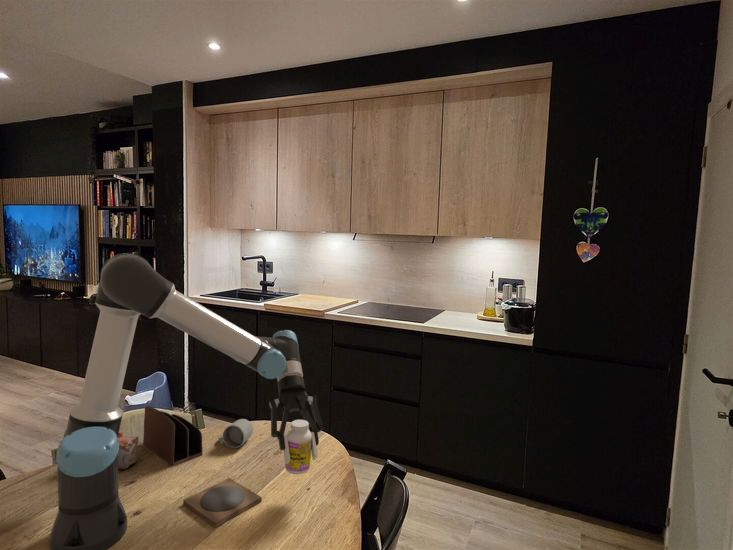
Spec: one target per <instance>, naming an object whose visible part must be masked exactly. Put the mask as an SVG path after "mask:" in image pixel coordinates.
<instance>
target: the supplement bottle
mask: <svg viewBox="0 0 733 550" xmlns="http://www.w3.org/2000/svg"><path fill="white" fill-rule="evenodd" d="M290 428H291V429H290V430H289V431H288V432H287V434H286V435H287V438H288V446H289V454H290V461H289V463H288V464H285V463H284V465H285V466H284V467H285V471H286V472H288V473H289V474H292V475H304V474H305V473H307V472H308V471H310V467H311V458H312V452H311V439H312V435H311V432H310V430H309V423H308V422H307V421H305V420H304V419H294V420H293V421H291V423H290Z"/></svg>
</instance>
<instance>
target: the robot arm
mask: <svg viewBox="0 0 733 550" xmlns="http://www.w3.org/2000/svg"><path fill="white" fill-rule="evenodd" d="M94 304H95V306H96V307H97V308H98V309H99V316H98V320H97V324H96V329H95V333H94V338H93V342H92V347H91V351H90V356H89V361H88V365H87V368H86V371H85V372H86V373H85V378H84V381H83V382H84V383H83V386H82V391H81V394H80V400H79V404H77V405H76V406H74V407H72V408H71V409H70V412H69V417H68V421H67V425H66V429H65V431H64V434H63V438H62V439H61V440H60V442H59V444H58V447H57V452H56V457H55V462H56V465H57V504H58V505H57V506H58V508H57V509H58V511H57V514H56V517H55V520H54V521H53V522H54V523H53V526H52V528H51V531H50V534H49V543H48V544H49V550H107V549H109V548H110V547H112V546H113V545H115V544H116V543H118V542H119V541H120V540H121V539H122V537H123V536H124V535H125V533H126V532H127V531H128V530H127V529H128V515H127V512H126V510H125V508H124V506H123V503H122V500H121V498H120V496H119V469H118V451H119V442H118V433H120V429H121V424H122V419H123V414H124V413H123V410H122V409H121V408H120V406H119V403H120V398H121V396H122V395H121V394H122V390H123V386H124V381H125V376H126V372H127V368H128V363H129V358H130V354H131V350H132V345H133V342H134V337H135V332H136V328H137V323H138V319H139V316H141V315H142V316H144V317H146V318H148V319H155V318H158V319H160V320H161V321H164V322H165V323H166V324H169V325H171V326H173V327H175V328H176V329H177V330H180V331H182V332H183V333H185V334H187V335H189V336H191V337H193V338H195V339H197V340H198V341H200V342H202V343H204V344H206V345H208V346H210V347H212V348H214V349H215V350H217V351H219V352H221V353H223V354H225V355H227V356H229V357H230V358H232V359H233V360H234V361H235V362H237V363H241V364H243V365H245V366H246V367H248V368H250V369H251V370H252V371H255V372H256V373H258V374H259V375H260V376H261V377H263V378H265V379H269V380H273V379H277V388H278V398H274V399H273V398H271V399H270V401H269V403H268V407H269V409H270V436H271V437H272V438H277V440H278V445H279V450H280V451H283V454H284V465H285V464H288V463H289V461H290V454H289V446H288V438H287V434H286V435H285V431H286V427H287V423H288V418H289V413H292V412H298V413H299V415H301V417H302V420H305V421H307V422H308V423H309V428H308V431H310V433H311V435H312V439H311V458H312V461H315V460H317V458H318V451H317V450H318V449H317V446H318V445H320V444H319V443H320V441H319V435H318V433H320V432H322V430H323V429H324V425H323V420H322V417H321V413H320V410H319V406H318V396H317V395H313V396H310V395H308V393H307V392H306V387H305V379H304V373H303V367H302V362H301V357H300V348H299V343H298V337H297V335H296V333H295V332H294V331H292V330H289V329H283V330H277V332H275V333H274V334H272V337H266V336H256V335H253V334H251V333H250V332H248V331H247V330H244V329H243V328H242V327H239V326H237V325H236V324H235V323H232V322H231V321H229V320H227V319H226V318H224V317H223V316H220V315H219V314H217V313H216V312H214V311H212V310H210V309H209V308H207V307H205V306H203V305H202V304H200V303H199V302H197V301H195V300H193V298H190V297H188V296H187V295H185V294H183V293H182V292H180V291H179V290H176V287H175V284H174V283H173V282H172V281H170V280H168V279H166V278H165V277H163V276H162V275H161V274H160V273H158V272H157V270H155V269H154V268H153V267H152V265H150V263H149V262H148V261H147V260H146V259H145V258H144V257H142V256H141V255H137V254H134V253H127V252H126V253H118V254H116V255H114V256H112V257H110V258H109V259H107V260H106V261H105V262H104V263H103V265H102V267H101V270H100V281H99V284H98V289H97V291H96V297H95V302H94ZM307 402H308V404H309V405H310V409H311V413H312V416H311V414H310V412H309V411H308V409H307V408H308V407H307V406H306V403H307ZM279 405H280V406H281V407H282V408H283V409H284V410H283V412H282V413H283V414H282V418H281V423H280V427H279V430H278V407H279ZM312 417H313V418H312Z"/></svg>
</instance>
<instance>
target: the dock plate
mask: <svg viewBox="0 0 733 550" xmlns="http://www.w3.org/2000/svg"><path fill="white" fill-rule="evenodd" d="M262 498H263V497H262V496H261V495H259V494H257V493H255V492H254V491H252V490H251V489H249V488H247V487H246V486H243V485H242V484H240V483H239V482H237V481H235V480H234V479H232V478H231V477H229V478H226V479H224V480H222V481H220V482H218V483H216V484H214V485H212V486H210V487H208V488H205V489H203V490H202V491H200V492H196V493H194V494H193V495H191V496H189V497H187V498H184V499H183V500H182V501H183V502H182V504H183V506H184V507H186V508H188V509H189V510H190V511H191V512H193V513H195V514H196V515H197V516H198V517H200V518H201V519H202V520H204V521H205V522H207V523H208V524H210V525H211V526H212V527H214V528H215V529H216V528H218V527H219V526H220V525H222V524H225V523H226V522H228V521H230V520H232V519H233V518H234V517H237V516H238V515H240V514H242V513H244V512H245V511H247V510H249V509H251V508H253V507H254V506H256V505H257V504H260V503H261V502H262V501H263V500H262Z"/></svg>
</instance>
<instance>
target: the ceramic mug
mask: <svg viewBox="0 0 733 550" xmlns="http://www.w3.org/2000/svg"><path fill="white" fill-rule="evenodd" d="M253 432H254V427H253V424H252V422H250V421H249V420H248V419H246V418H239V419H237V420H235V421H234V422H232V423H230V424H229V425H228V426H226V428H225V429H224V430H223V432H222V435H220V436H219V437H218V441H219V443H222V444H223V443H224V444H225V445H226V447H228V448H231V449H238V448H240V447H241V446H243V445H244V444H245V443H246V442H247V441H248V440H249V439H250V438H251V436H252V435H253Z"/></svg>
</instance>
